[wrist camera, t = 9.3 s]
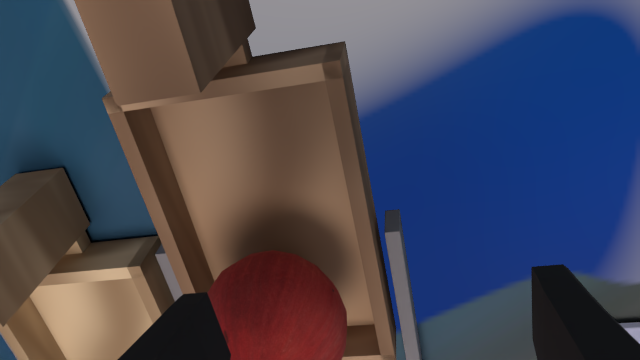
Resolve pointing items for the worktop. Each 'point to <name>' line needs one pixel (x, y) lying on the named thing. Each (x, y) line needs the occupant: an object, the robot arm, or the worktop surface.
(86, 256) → the oak tray
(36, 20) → the worktop surface
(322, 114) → the walnut tray
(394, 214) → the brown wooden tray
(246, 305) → the onion
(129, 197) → the worktop surface
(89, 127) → the worktop surface
